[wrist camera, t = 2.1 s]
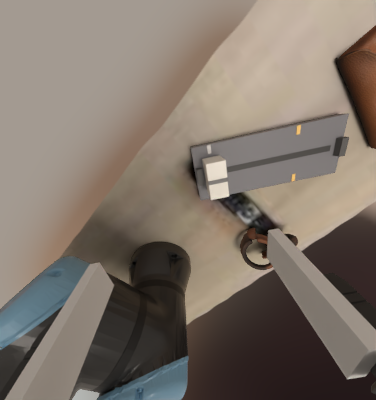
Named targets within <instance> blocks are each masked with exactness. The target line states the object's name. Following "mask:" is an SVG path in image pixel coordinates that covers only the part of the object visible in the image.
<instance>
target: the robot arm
mask: <svg viewBox="0 0 376 400" xmlns="http://www.w3.org/2000/svg"><path fill="white" fill-rule="evenodd" d="M267 259H268V260H269V262H270V263H271V265H272V266H273V268H274V269H275V271H276V272H277V274H278V275H279V277H280V278H281V280H282V281H283V283H284V284H285V286H286V287H287V289H288V290H289V292H290V293H291V295H292V296H293V298H294V299H295V301H296V302H297V304H298V305H299V307H300V308H301V310H302V311H303V313H304V315H305V316H306V318H307V319H308V321H309V322H310V324H311V325H312V327H313V328H314V329H315V331H316V332H317V334H318V336H319V337H320V339H321V340H322V342H323V343H324V345H325V346H326V348H327V349H328V351H329V352H330V354H331V355H332V357H333V358H334V360H335V361H336V363H337V364H338V366H339V367H340V369H341V370H342V372H343V373H344V375H345V376H346V378H347V379H351V378H357V377H364V376H366V375H367V374H368V373H369V372H370V371H371V372H372V373H373V375H374V376H375V377H376V309H375V308H374V307H373V306H372V305H371V304H370V303H368V302H367V301H366V300H365V299H364V298H363V297H362V296H361V295H360V294H359V293H357V291H356V290H355V289H354V288H353V287H352V286H351V285H349V284H348V283H347V282H346V281H345V280H343V279H342V278H340V277H338V276H337V275H335V274H334V273H330V274H324V275H323V274H322V273H321V272H320V271H319V270H318V269H317V268H316V267H315V266H314V265H313V264H312V263H311V262H310V261H309V260H308V259H307V258H306V256H305V255H303V253H302V252H301V251H300V250H299V249H298V248H297V247H296V246H295V245H294V244H293V243H292V242H291V241H290V240H289V239H288V238H287V237H286V236H285V235H284V233H283V232H282V231H281V230H280V229H279V228H278V229H273V230H268V243H267ZM190 273H191V265H190V258H189V256H188V254H187V253H186V252H185V251H184V250H183V249H182V248H180V247H179V246H176V245H174V244H171V243H166V242H155V243H150V244H147V245H144V246H142V247H141V248H139V249H138V250H137V251H136V252H135V253H134V255H133V257H132V260H131V262H130V266H129V279H130V285H129V284H127V283H125V282H123V281H121V280H120V279H118V278H116V277H114V276H112V275H111V274H109V273H107V272H105V270H104V268H103V267H102V265H101V264H100V262H99V263H93V264H90V263H88V262H86V261H83V260H81V259H79V258H77V257H74V256H67V257H63V258H60V259H58V260H57V261H55V262H54V263H53V264H51V265H50V266H49V267H48V268H47V269H45V270H44V271H43V272H42V273H40V274H39V275H38V276H37V277H36V278H35V279H33V280H32V281H31V282H30V283H29V284H28V285H27V286H25V287H24V288H23V289H22V290H21V291H20V292H19V293H18V294H16V295H15V296H14V297H13V298H12V299H11V300H10V301H9V302H8V303H6V304H5V305H4V306H3V307H2V308H1V309H0V400H72V398H73V397H74V395H75V393H76V392H77V391H78V390H79V389H83V390H88V391H94V392H98V393H100V394H99V397H98V398H97V400H181V399H182V397H183V396H184V393H185V391H186V387H187V361H188V350H187V331H186V311H185V291H186V287H187V284H188V280H189V277H190ZM371 392H372V393H374V394H376V382H375V383H374V384H373V385H372V387H371Z"/></svg>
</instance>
